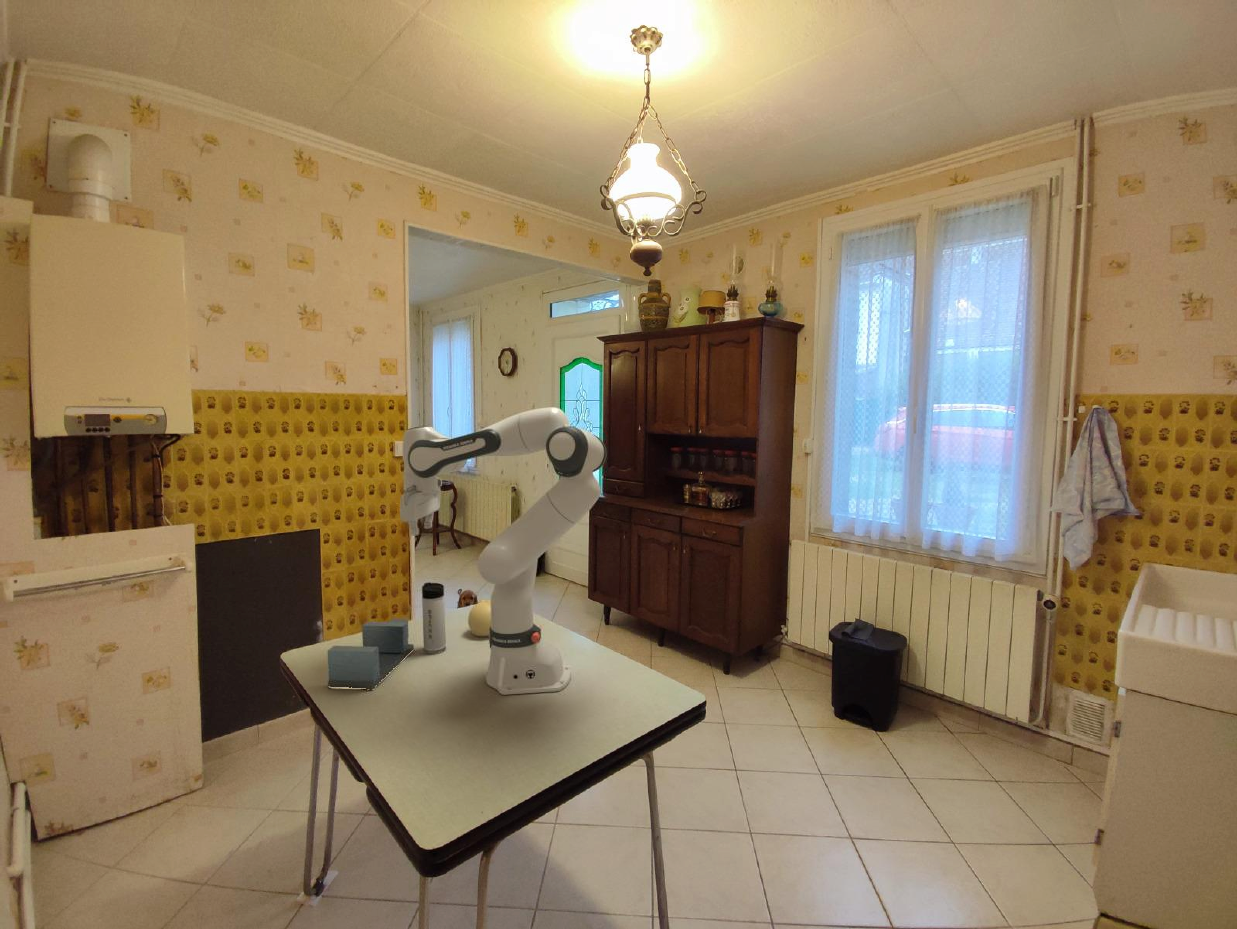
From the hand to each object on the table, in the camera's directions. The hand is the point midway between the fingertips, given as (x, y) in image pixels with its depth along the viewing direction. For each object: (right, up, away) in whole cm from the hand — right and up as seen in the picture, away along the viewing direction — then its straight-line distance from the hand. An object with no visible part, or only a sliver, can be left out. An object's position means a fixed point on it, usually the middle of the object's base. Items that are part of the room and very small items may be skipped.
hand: (421, 531), depth 159 cm
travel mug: (+1, -37, +8) cm, 37 cm away
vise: (-12, -38, -5) cm, 40 cm away
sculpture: (+14, -35, +21) cm, 43 cm away
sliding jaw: (-11, -34, +6) cm, 37 cm away
